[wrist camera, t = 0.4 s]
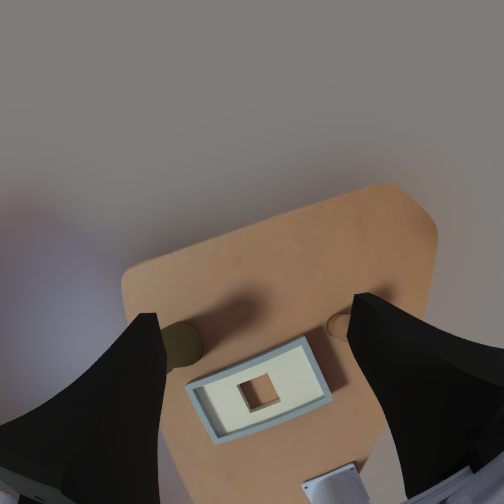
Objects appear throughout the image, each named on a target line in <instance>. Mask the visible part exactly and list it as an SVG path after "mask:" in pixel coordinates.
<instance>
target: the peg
mask: <svg viewBox="0 0 504 504" xmlns="http://www.w3.org/2000/svg"><path fill="white" fill-rule="evenodd" d="M350 315H351V314H335V315H332V316H331V317H330V318H329V319H328V321H327V324H326V328H327V331H328V333H329V334H330V335H331V336H333V337H336V338H338V339H340V340H342V341H345V342H348V340H347V337H346V335H347V330H348V325H349V320H350ZM348 343H349V342H348Z"/></svg>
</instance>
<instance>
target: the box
mask: <svg viewBox="0 0 504 504" xmlns="http://www.w3.org/2000/svg"><path fill="white" fill-rule="evenodd" d="M266 373H268V375H269V377H270V379H271V381H272V383H273V385H274V387H275V389H276V391H277V394H278V396H279V399H277V400H274V401H272V402H269V403H267V404H264V405H262V406H259V407H256V408H254V409H251V407H250V405H249V403H248V401H247V399H246V397H245V395H244V393H243V391H242V389H241V387H240V385H239V384H241V383H243V382H246V381H248V380H251V379H253V378H256V377H258V376H261V375H263V374H266ZM184 387H185V389H186V391H187V393H188V395H189V397H190V399H191V401H192V403H193V405H194V407H195V409H196V411H197V413H198V415H199V417H200V419H201V421H202V422H203V424H204V426H205V428H206V430H207V432H208V434H209V435H210V437H211V439H212V441H213V442H214V444H215V445H217V444H221V443H224V442H227V441H231V440H234V439H237V438H240V437H244V436H247V435H250V434H253V433H256V432H258V431H261V430H264V429H267V428H270V427H272V426H275V425H278V424H280V423H283V422H285V421H288V420H290V419H293V418H295V417H298V416H300V415H302V414H305V413H307V412H309V411H312V410H314V409H316V408H318V407H320V406H323V405H325V404H327V403H329V402H331V401H333V400H334V399H333V397H332V394H331V392H330V390H329V388H328V386H327V383H326V381H325V379H324V377H323V375H322V372H321V370H320V368H319V366H318V364H317V361H316V359H315V357H314V355H313V353H312V351H311V348H310V346H309V344H308V342H307V340H306V338H305V336H304V335H300V336H298V337H296V338H294V339H292V340H290V341H288V342H285V343H283V344H281V345H279V346H277V347H274V348H272V349H270V350H267V351H265V352H263V353H261V354H258V355H256V356H253V357H251V358H249V359H246V360H244V361H241V362H239V363H237V364H234V365H232V366H229V367H226V368H224V369H221V370H219V371H216V372H214V373H211V374H208V375H205V376H203V377H200V378H197V379H194V380H192V381H190V382H188V383H187V384H186V385H184Z"/></svg>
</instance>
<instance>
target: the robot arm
mask: <svg viewBox="0 0 504 504" xmlns="http://www.w3.org/2000/svg"><path fill="white" fill-rule="evenodd" d="M346 337H347V340H348V342H349V345H350V348H351V350H352V353H353V355H354V358H355V359H356V361H357V363H358V365H359V367H360V369H361V370H362V372H363V374H364V376H365V377H366V379H367V381H368V383H369V385H370V386H371V388H372V390H373V392H374V394H375V395H376V397H377V399H378V401H379V403H380V405H381V407H382V409H383V412H384V414H385V417H386V420H387V422H388V425H389V428H390V430H391V434H392V436H393V439H394V443H395V446H396V450H397V453H398V457H399V461H400V464H401V470H402V475H403V480H404V486H405V494H406V496H407V498H408V500H407V501H405V502H403V503H400V504H438V503H439V504H504V349H502V348H496V347H491V346H487V345H483V344H479V343H476V342H472V341H469V340H466V339H463V338H460V337H457V336H455V335H452V334H450V333H447V332H445V331H442V330H440V329H438V328H436V327H434V326H432V325H430V324H428V323H426V322H423V321H422V320H420V319H418V318H416V317H414V316H412V315H410V314H408V313H407V312H405V311H403V310H401V309H399V308H398V307H396V306H394V305H392V304H390V303H389V302H387V301H385V300H383V299H381V298H379V297H377V296H375V295H373V294H371V293H369V292H367V293H360V294H354V299H353V305H352V310H351V315H350V320H349V325H348V330H347V335H346ZM166 373H167V353H166V349H165V346H164V342H163V338H162V334H161V330H160V327H159V323H158V318H157V314H156V313H140V314H139V315H138V316H137V317H136V318H135V319H134V320H133V321H132V323H131V324H130V325H129V326H128V327H127V328H126V330H125V331H124V332H123V333H122V334H121V335H120V336H119V337H118V339H117V340H116V341H115V342H114V343H113V344H112V345H111V346H110V348H109V349H108V350H107V351H106V352H105V353H104V354H103V355H102V356H101V357H100V358H99V359H98V360H97V361H96V362H95V363H94V364H93V365H92V366H91V367H90V368H89V369H88V370H87V371H86V372H85V373H83V374H82V375H81V376H80V377H79V378H78V379H77V380H75V381H74V382H73V383H72V384H71V385H69V386H68V387H67V388H65V389H64V390H62V391H61V392H60V393H58V394H57V395H55V396H54V397H53V398H51V399H50V400H48V401H47V402H45V403H44V404H42V405H41V406H39V407H37V408H35V409H34V410H32V411H30V412H28V413H27V414H25V415H23V416H21V417H19V418H16V419H14V420H12V421H10V422H7V423H6V424H3V425H1V426H0V480H1V481H3V482H4V483H5V484H7V485H8V486H9V487H11V488H12V489H13V490H15V491H16V492H18V493H19V494H20V497H19V501H18V500H16V499H15V498H13V497H11V496H10V495H8V494H6V493H4V492H2V491H0V504H160V497H159V485H158V461H157V460H158V459H157V447H158V446H157V444H158V443H157V442H158V440H157V439H158V429H159V422H160V416H161V409H162V403H163V396H164V390H165V384H166ZM351 468H353V469H351ZM301 486H302V488H303V490H304V491H305V493H306V495H307V496H308V498H309V500H310V501H311V503H312V504H369V502H368V501H369V500H370V498H369V496H368V494H367V492H366V489H365V487H364V485H363V483H362V481H361V479H360V476H359V474H358V472H357V470H356V467H355V465H354V464H353V463H349V464H347V465H345V466H343V467H341V468H338V469H336V470H334V471H331V472H329V473H327V474H324V475H322V476H319V477H317V478H314V479H311V480H309V481H306V482H303V483H302V484H301ZM306 486H307V488H305V487H306Z"/></svg>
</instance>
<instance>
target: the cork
mask: <svg viewBox="0 0 504 504" xmlns="http://www.w3.org/2000/svg"><path fill="white" fill-rule="evenodd" d="M161 334H162V338H163V342H164V346H165V349H166V353H167V373H166V375H167V374H168V373H169V372H171V371H172V370H173V368H178V367H185V366H189V365H192V364H194V363H195V362H197V361H198V360H199V358H200V357H201V355H202V352H203V348H204V347H203V340H202V337H201V334H200V333H199V332H198V330H197V329H196V328H195V327H193V326H192V325H190V324H187V323H184V322H178V323H174V324H172V325H169V326H167V327H165V328H163V329H161Z"/></svg>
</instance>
